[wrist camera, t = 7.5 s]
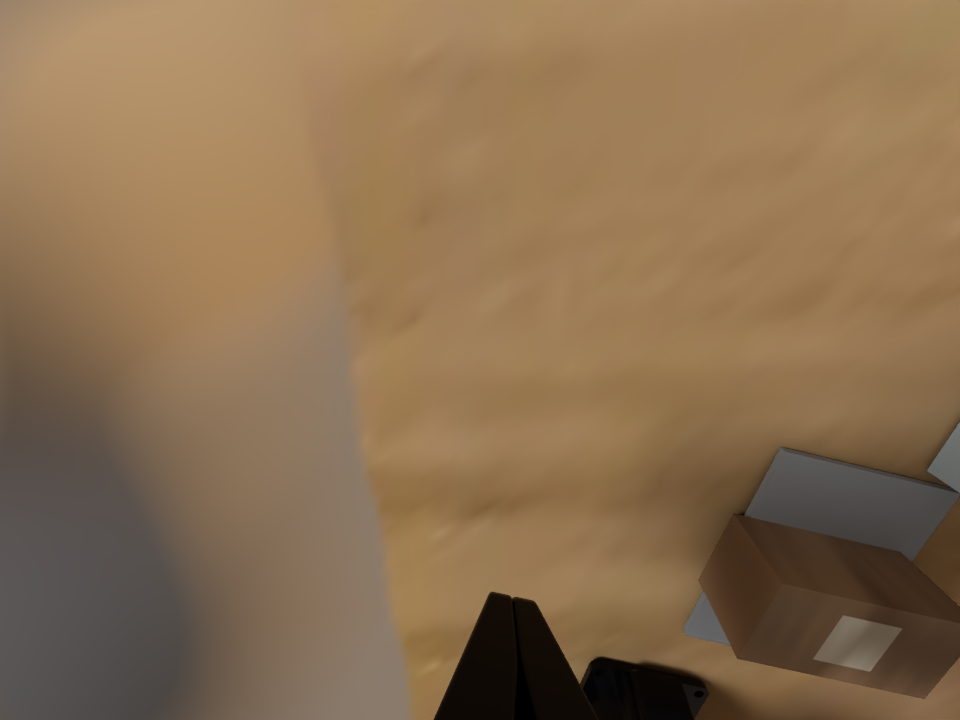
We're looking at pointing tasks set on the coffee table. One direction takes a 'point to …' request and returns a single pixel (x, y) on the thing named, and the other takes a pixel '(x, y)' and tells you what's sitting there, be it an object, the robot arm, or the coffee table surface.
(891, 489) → the felt mat
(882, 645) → the walnut block
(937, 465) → the bluegrey block
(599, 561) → the coffee table surface
